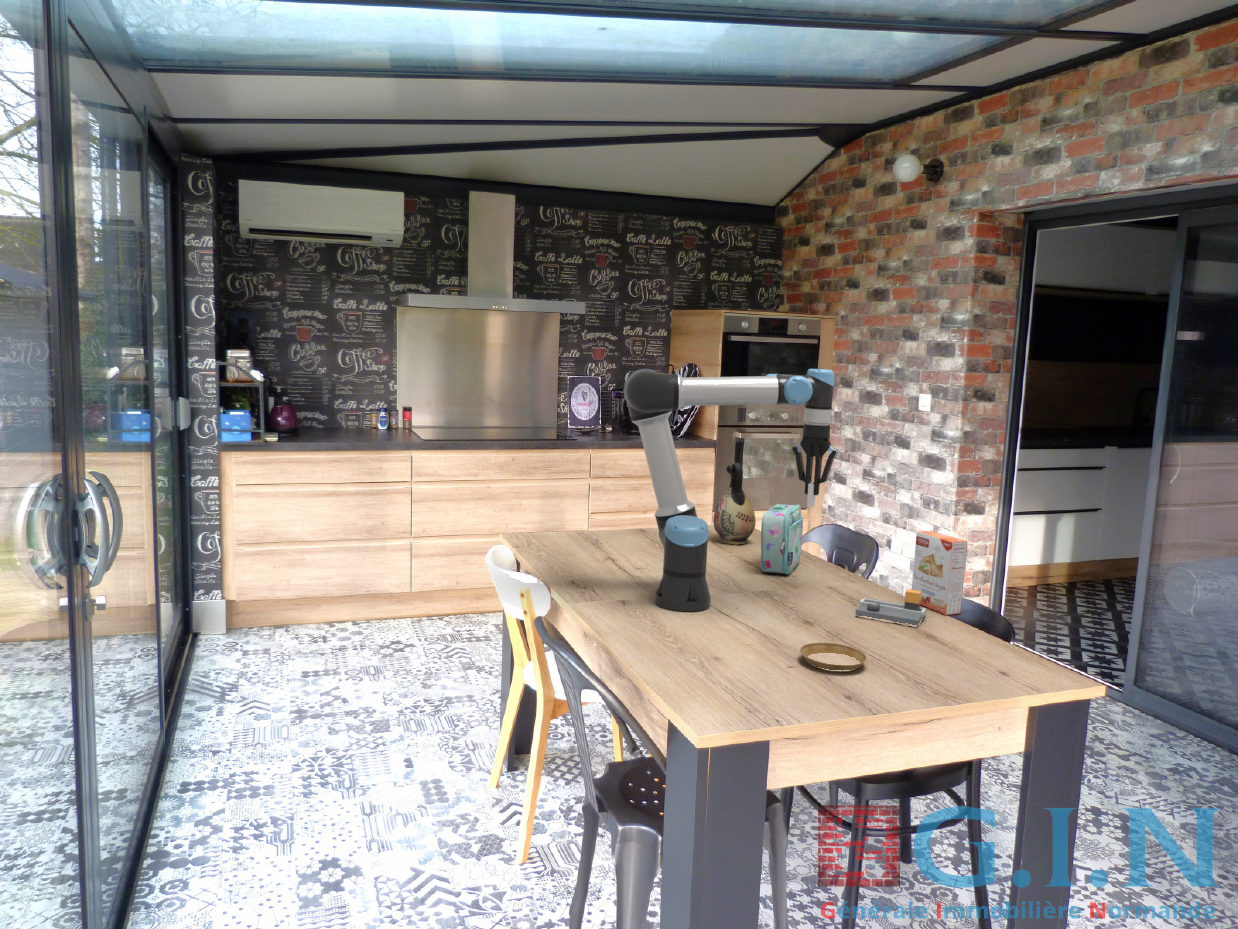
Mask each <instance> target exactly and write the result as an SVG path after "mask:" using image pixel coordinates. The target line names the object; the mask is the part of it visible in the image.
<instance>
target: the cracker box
mask: <svg viewBox="0 0 1238 929" xmlns="http://www.w3.org/2000/svg"><path fill="white" fill-rule="evenodd" d="M914 547H915V548H914V557H913V558H914V560H913V572H912V583H911V590H917V591H922V592H921V601H920V606H921V605H922V606H921V607H924V606H925V607H924V608H926V607H927V609H929V610H931V609H933V610H932V611H934V610H935V611H934V612H936V611H938V612H939V614H941V613H944V615H943V616H953V615H960V614H961V612H962V604H963V603H962V602H963V593H964V591H963V590H964V581H965V571H966V562H967V551H968V540H966V539H965V540H964V539H961V538H958V537H954V536H951V535H949V534H944V533H941V532H938V531H933V530H919V531H916V538H915V546H914ZM960 598H961V599H960ZM938 612H937V613H938Z"/></svg>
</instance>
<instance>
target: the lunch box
mask: <svg viewBox="0 0 1238 929" xmlns="http://www.w3.org/2000/svg"><path fill="white" fill-rule="evenodd" d="M760 527H761V529H760V530H761V531H760V567H761V570H762V573H763V572H764V573H771V574H782V575H790V574H791V573H792V572H793V571H794V569H795V568H796V567H797V565H798V563H799V561H800V558H801V554H802V542H803V529H804V518H803V515H802V508H801V505H800V504H777V503H776V504H775V505H773V506H772V507H770V508H768V509H766V511H765V512H764V514H763V515H762V519H761V526H760Z"/></svg>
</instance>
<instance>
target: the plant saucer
mask: <svg viewBox="0 0 1238 929" xmlns="http://www.w3.org/2000/svg"><path fill="white" fill-rule="evenodd" d="M799 652H800V654H801V656H802V657H803V659H804V660H805V661H806V662H807V663H808V664H809V665H810V664H812V665H814V666H816V667H820V668H824V669H829V670H842V671H843V670H852V669H855V670H857V669H859V668H860V667H861V666H863V665H864V663H865V662H866V661H867V660H868V657H867V655H866V654H865V653H864V652H863V651H861V650H859V649H857V648H854V647H852V646H850V645H849V646H848V645H846V644H845V645H844V644H841V643H840V644H839V643H834V642H812V643H806V644H804V645H802V646H800V648H799ZM818 653H836V654H845V655H848V656H850V657H854V658H856V660H858V661H860V664H855V665H834V664H827V663H823V662H819V661H815V660H813V659H810V658H808V656H809V655H811V654H818ZM812 665H811V666H812ZM816 667H815V668H816ZM856 668H857V669H856Z"/></svg>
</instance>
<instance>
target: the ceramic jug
mask: <svg viewBox="0 0 1238 929" xmlns="http://www.w3.org/2000/svg"><path fill="white" fill-rule="evenodd" d="M725 469H726V473H728V475H730V483H729V486H728V488H727V489H726V491H725V492H724V494H723V495H722V496H721V498H720V500H719V501H718V503H717V505H716V507H715V510H714V513H713V520H712V522H713V523H712V524H713V527H714V530H715V532H716V533H717V535H718V536H719V538H720V539H721V542H722V543H723V544H729V545H735V546H737V545H743V544H747V543H748V538H749V537H751V536H752V535H753V532H754V530H755V528H756V515H755V510H754V506H753V505H752V503H751V502H750V500H749V498H748V496H747V495H746V492H745V491H744V490H743V478H744V476H743V473H744V472H743V471H744V470H743V467H742V465H741V463H740V462H734V463H732V465H727V467H726V468H725Z"/></svg>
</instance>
